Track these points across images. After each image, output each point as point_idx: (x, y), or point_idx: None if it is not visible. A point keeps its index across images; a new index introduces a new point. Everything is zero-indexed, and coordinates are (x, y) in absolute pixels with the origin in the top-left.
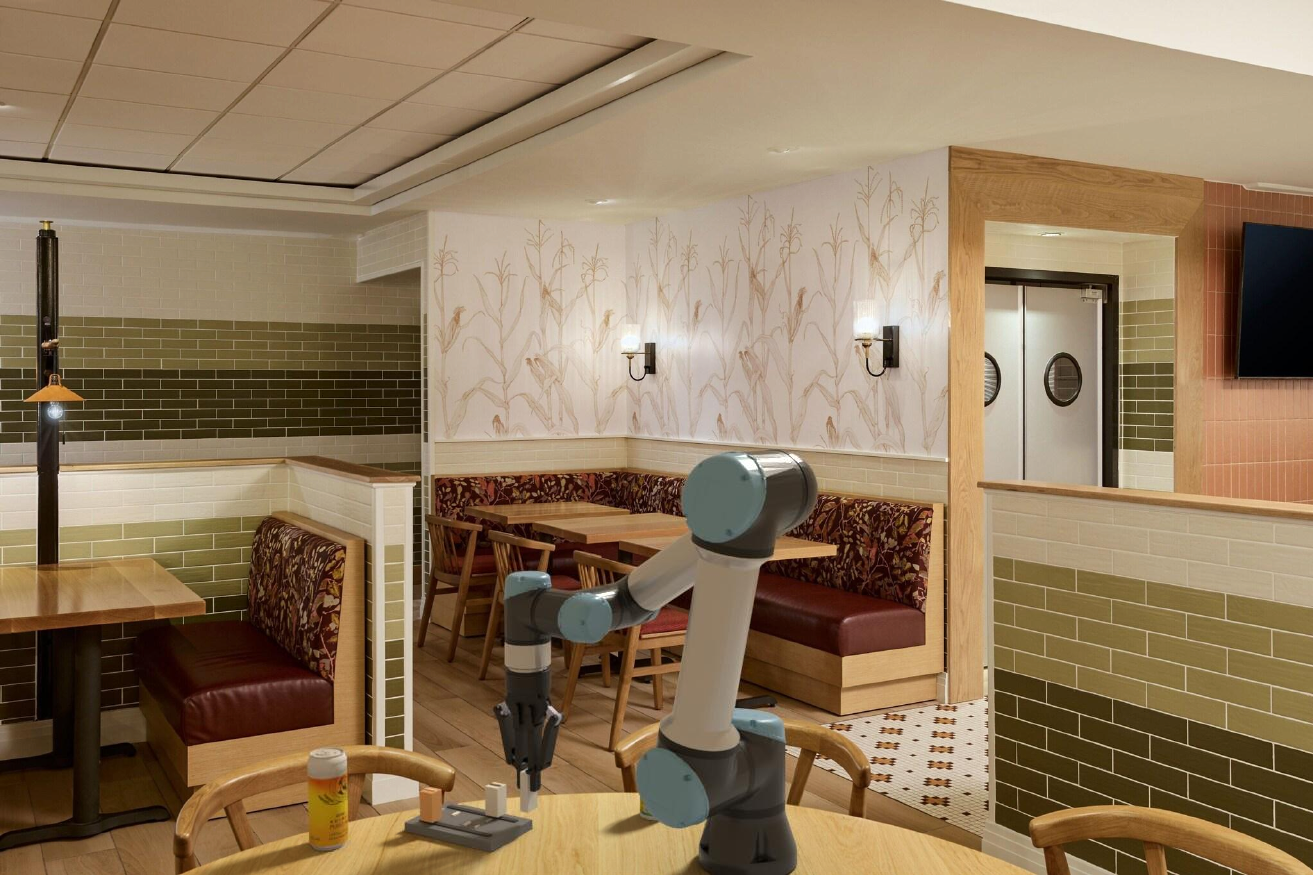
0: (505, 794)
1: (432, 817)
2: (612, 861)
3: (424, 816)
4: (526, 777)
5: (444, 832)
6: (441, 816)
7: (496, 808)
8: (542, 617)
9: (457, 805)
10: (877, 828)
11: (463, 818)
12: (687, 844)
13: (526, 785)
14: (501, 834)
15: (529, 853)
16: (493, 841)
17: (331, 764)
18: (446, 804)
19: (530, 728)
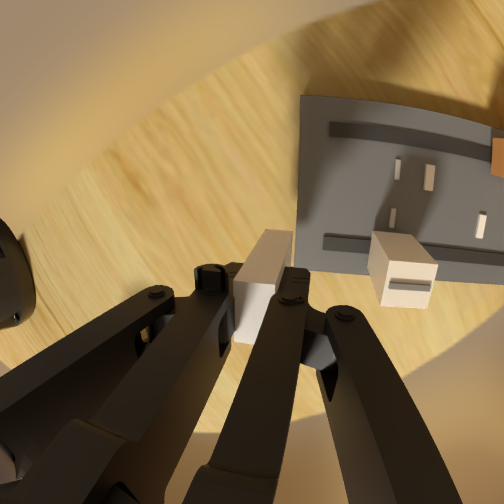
0: (375, 286)
1: (499, 139)
2: (78, 188)
3: None
4: (244, 273)
5: (448, 115)
6: (492, 172)
7: (380, 237)
8: None
9: (493, 274)
10: (11, 365)
11: (455, 210)
12: (53, 291)
13: (251, 258)
14: (309, 152)
15: (216, 134)
16: (300, 104)
17: None
18: None
19: (68, 437)
